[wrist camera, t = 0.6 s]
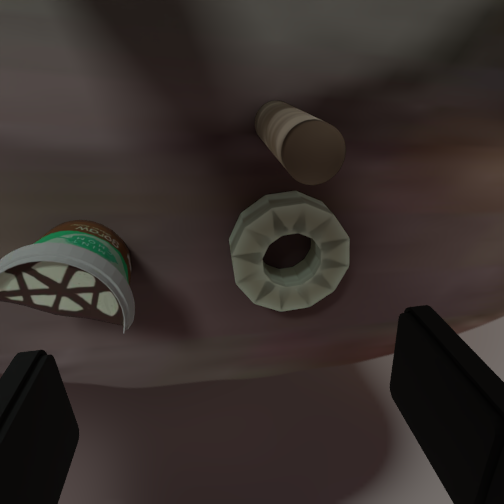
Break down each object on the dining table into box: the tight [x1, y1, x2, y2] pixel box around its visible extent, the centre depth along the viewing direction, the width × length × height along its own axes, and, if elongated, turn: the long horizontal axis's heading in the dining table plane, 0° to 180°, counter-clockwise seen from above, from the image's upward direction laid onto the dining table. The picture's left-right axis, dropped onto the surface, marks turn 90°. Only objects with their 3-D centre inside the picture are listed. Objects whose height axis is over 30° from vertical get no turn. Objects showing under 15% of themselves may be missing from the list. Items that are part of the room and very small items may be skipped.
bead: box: [229, 191, 350, 312], centre depth 41 cm, size 12×12×4 cm
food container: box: [0, 220, 135, 333], centre depth 35 cm, size 12×6×10 cm, turn 71°
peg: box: [255, 101, 346, 185], centre depth 31 cm, size 4×4×14 cm
